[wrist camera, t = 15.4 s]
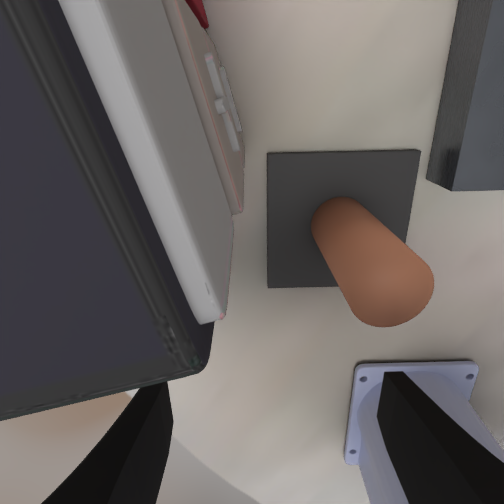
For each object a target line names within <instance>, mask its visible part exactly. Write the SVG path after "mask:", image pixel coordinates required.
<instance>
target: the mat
mask: <svg viewBox="0 0 504 504" xmlns="http://www.w3.org/2000/svg"><path fill="white" fill-rule="evenodd" d="M420 155H421V151H420V150H373V151H328V152H283V153H267V284H268V288H294V287H335V286H339V285H338V283H337V281H336V280H335V278H334V276H333V274H332V272H331V270H330V268H329V266H328V264H327V262H326V260H325V259H324V257H323V255H322V253H321V251H320V249H319V247H318V245H317V243H316V241H315V239H314V237H313V235H312V232H311V221H312V217H313V215H314V213H315V211H316V210H317V209H318V208H319V206H320V205H322V204H323V203H324V202H326V201H328V200H329V199H332V198H336V197H349V198H352V199H354V200H356V201H358V202H359V203H360V204H361V205H362V206H363V207H364V208H366V209H367V210H368V211H369V212H370V213H371V214H372V215H373V216H374V217H376V218H377V219H378V220H379V221H380V222H381V223H382V224H383V225H384V226H386V227H387V228H388V229H389V230H390V231H391V232H392V233H393V234H394V235H396V236H397V237H398V238H399V239H400V240H401V241H402V242H403V243H404V244H405V242H406V236H407V230H408V225H409V219H410V213H411V207H412V201H413V196H414V190H415V184H416V178H417V173H418V167H419V161H420Z"/></svg>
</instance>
